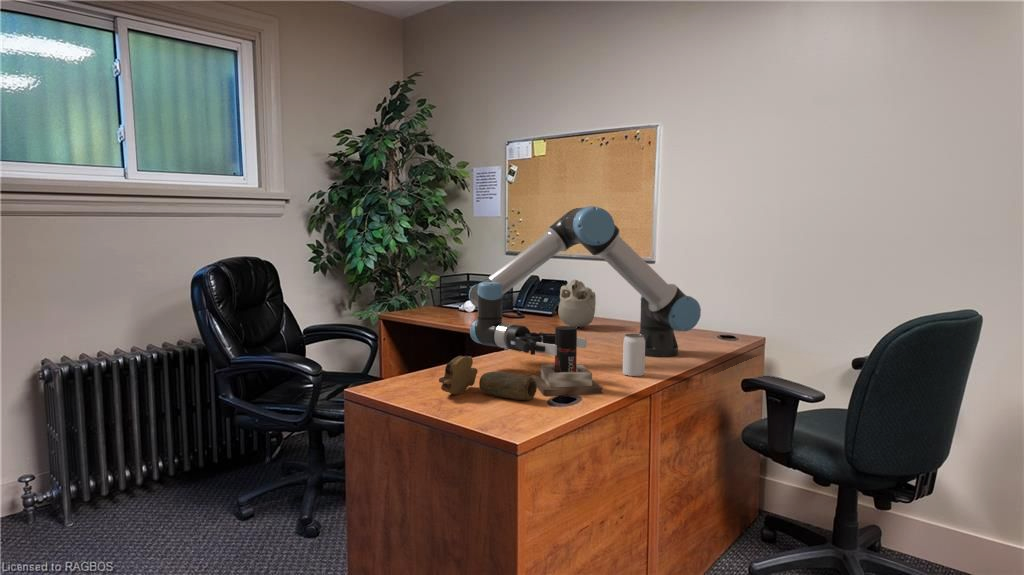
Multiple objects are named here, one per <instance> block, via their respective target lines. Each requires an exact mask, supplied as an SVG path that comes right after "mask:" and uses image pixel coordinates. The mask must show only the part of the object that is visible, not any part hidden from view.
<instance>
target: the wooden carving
mask: <svg viewBox="0 0 1024 575" xmlns="http://www.w3.org/2000/svg"><path fill="white" fill-rule="evenodd" d="M473 363H474V362H473V357H472V356H469V355H464V356H463V355H458V356H456V357H454V358H452V360H450V361H449V362H447V364H446V365H445V369H444V375H443V376H442V377H440V378H438V382H439V383H441V384H442V385H441V387H440V389H441V390H442V391H443V392H446V393H450V394H452V395H455V396H457V395H458V394H459V395H461V394H462V392H463V393H464V392H465V391H466V390H467V388H469V386H470V387H472V386H474V384H475V382H476V377H477V374H478V369H477V368H476V367H473ZM460 393H461V394H460Z"/></svg>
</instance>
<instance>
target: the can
mask: <svg viewBox="0 0 1024 575" xmlns="http://www.w3.org/2000/svg"><path fill="white" fill-rule="evenodd" d="M622 342H623V343H622V344H623V346H622V347H623V349H622V375H624V374H625V375H624V376H626V375H628V376H627V377H630V376H640V377H643V376H644V375H645V371H646V370H645V366H646V365H645V364H646V362H645V361H646V355H645V339H644V335H641V334H639V333H625V335H624V338H623V341H622ZM642 375H643V376H642Z"/></svg>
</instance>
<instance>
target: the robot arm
mask: <svg viewBox="0 0 1024 575" xmlns="http://www.w3.org/2000/svg"><path fill="white" fill-rule="evenodd" d="M546 230H547V231H546V233H545V234H543V235H542V236H541V237H539V238H538V239H537V240H535V241H534V242H533V243H531V244H530V245H529V246H527V247H526V248H525V249H524V250H522V251H521V252H520V253H518V254H517V255H516V256H514V257H513V258H511V259H510V260H509V261H507V262H506V263H505V264H503V266H501V267H500V268H499V269H497V270H495V271H494V272H493V273H492V274H490V275H489V276H487V278H485V279H484V280H483V281H482V282H479V283H477V284H474V285H473V286H471V288H470V289H469V291H468V299H469V300H470V303H471V304H472V305H473V306H474V307H476V308H477V319H476V320H474V321H473V322H472V323H471V327H470V328H469V335H470V338H471V340H473V341H474V342H475V343H477V344H481V345H483V346H490V347H495V348H496V347H497V348H500V349H501V348H502V349H504V351H508V350H511V351H516V352H523V353H526V354H528V353H530V355H532V356H533V355H536V353H538V354H544V355H550V356H554V357H555V356H556V355H557V345H555V333H551V332H550V333H549V332H541V331H540V332H536V331H535V332H531V331H530V329H529V328H528V327H527V326H525V325H519V324H514V323H506V322H503V297H504V294H506V293H507V292H508V291H510V290H511V289H513V288H514V287H515V286H516V285H517V284H519V283H521V281H523V280H524V279H526V277H528V276H530V275H531V274H532V273H534V272H535V271H536V270H537V269H539V268H540V267H541V266H542V265H544V264H545V263H547V262H548V261H549V260H551V259H552V258H553V257H555V256H556V255H557V254H558V253H560V252H566V251H568V250H569V249H570V248H572V247H574V246H576V245H579V244H580V245H582V246H583V247H584V248H585V249H586V250H587V251H588V252H589V253H590V254H591V255H592V256H594V257H596V256H600V257H601V258H602V259H603V260H604V261H605V262H606V263H607V264H608V265H610V266H611V268H612V269H614V270H615V272H616V273H618V274H619V276H621V277H622V278H623V279H624V280H625V281H626V282H627V283H628V284H629V285H630V286H631V287H632V288H633V289H634V290H636V292H637V293H639V294H640V326H639V327H640V328H639V329H640V330H639V332H638V334H641V335H644V339H645V356H647V355H648V357H649V356H650V357H659V356H665V357H672V356H671V355H675V356H677V355H679V345H678V341H677V338H676V335H675V332H688V331H691V330H692V329H693V328H695V327H696V325H698V323H699V321H700V319H701V315H702V314H701V311H702V309H701V305H700V303H699V302H698V300H697V299H695V298H694V297H692V296H690V295H686V294H685V293H684V292H683V291H682V290H681V289H680V288H679V287H678V286H677V285H676V284H675V283H667V282H666V280H665V279H663V277H661V276H660V275H659V274H658V273H657V272H656V270H655V269H653V267H651V266H650V265H649V264H648V263H647V262H646V261H645V260H644V259H643V258H642V257H641V256H640V255H639V254H638V253H637V252H636V250H634V249H633V248H632V247H631V246H630V245H629V244H628V243H627V242H626V241H625V240H624V238H622V237H621V236H620V231H621V230H620V228H619V227H618V226H617V225H616V224H615V221H614V219H613V216H612V215H611V214H610V212H608V211H607V210H606V209H604V208H601V207H599V206H595V205H594V206H593V205H590V206H585V207H576V208H572V209H571V210H569V211H567V212H566V213H564V214H563V215H562V216H561V217H559V218H558V219H557V220H556V221H555V222H554V223H553V224H552V225H550V226H549V227H548V228H546ZM577 348H580V349H587V338H583V337H578V336H577ZM676 354H677V355H676Z"/></svg>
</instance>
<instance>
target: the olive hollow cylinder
mask: <svg viewBox="0 0 1024 575" xmlns="http://www.w3.org/2000/svg"><path fill="white" fill-rule="evenodd" d="M478 385H479V389H480V391H481V392H483V393H484V394H487V395H490V396H493V397H499V398H505V399H509V400H517V401H532V399H534V398H535V395H536V393H537V390H538V388H537V384H536V381H535V379H534V378H533V377H532V376H529V375H526V374H522V373H515V372H505V371H503V372H502V371H488V372H486V373H483V374H482V375H481V377H480V378H479V384H478Z"/></svg>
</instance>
